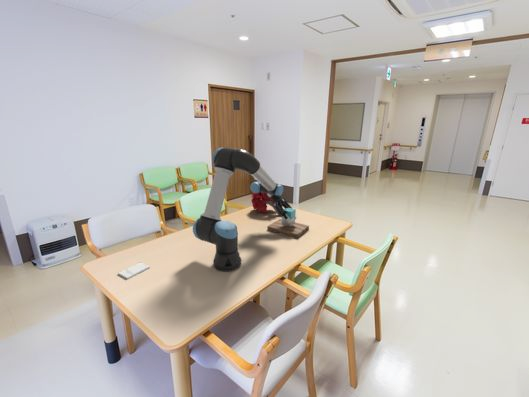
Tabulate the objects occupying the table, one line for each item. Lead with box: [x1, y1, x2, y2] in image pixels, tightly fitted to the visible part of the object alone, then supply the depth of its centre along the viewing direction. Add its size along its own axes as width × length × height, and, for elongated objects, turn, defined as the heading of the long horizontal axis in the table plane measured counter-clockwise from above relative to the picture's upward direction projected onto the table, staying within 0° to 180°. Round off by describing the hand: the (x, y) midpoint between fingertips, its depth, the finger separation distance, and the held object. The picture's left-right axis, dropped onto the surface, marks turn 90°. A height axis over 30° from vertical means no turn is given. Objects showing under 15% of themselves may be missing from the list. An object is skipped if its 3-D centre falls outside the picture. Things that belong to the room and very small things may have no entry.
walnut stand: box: [267, 218, 310, 239], centre depth 189 cm, size 18×24×3 cm
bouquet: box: [251, 192, 280, 216], centre depth 221 cm, size 22×24×30 cm
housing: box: [281, 207, 297, 227], centre depth 187 cm, size 7×7×11 cm
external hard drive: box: [117, 262, 151, 280], centre depth 136 cm, size 2×8×12 cm
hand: (292, 220), depth 185 cm, fingers closed on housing, 7 cm apart
